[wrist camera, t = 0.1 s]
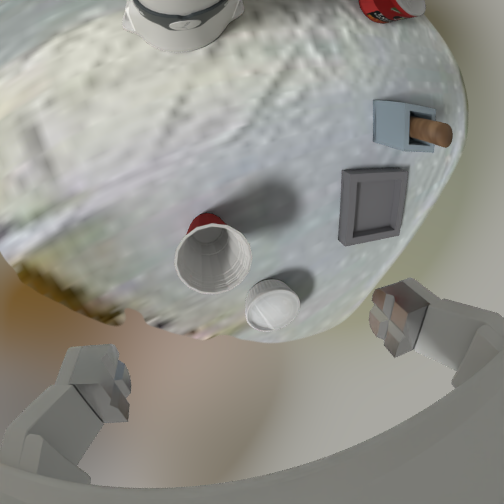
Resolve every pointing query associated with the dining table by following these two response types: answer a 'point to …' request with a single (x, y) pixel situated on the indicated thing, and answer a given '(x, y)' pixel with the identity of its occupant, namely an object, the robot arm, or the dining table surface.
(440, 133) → the walnut dowel
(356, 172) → the tray
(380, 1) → the canned food
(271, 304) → the ramekin
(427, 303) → the robot arm
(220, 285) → the plastic cup
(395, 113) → the grey square bin
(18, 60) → the dining table surface
